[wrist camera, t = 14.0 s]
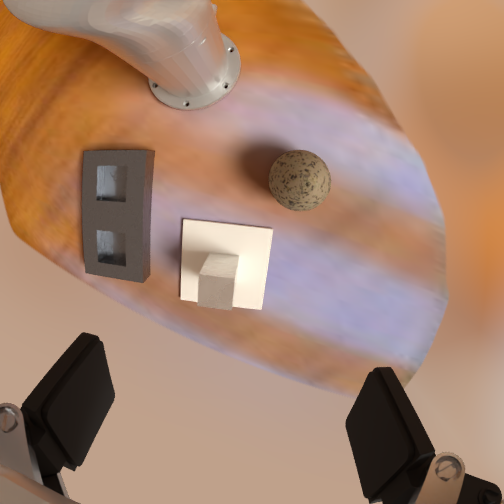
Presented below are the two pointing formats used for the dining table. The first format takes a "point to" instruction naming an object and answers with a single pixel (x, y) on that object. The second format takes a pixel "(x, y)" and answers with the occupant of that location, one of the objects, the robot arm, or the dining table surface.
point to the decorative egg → (299, 180)
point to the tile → (226, 242)
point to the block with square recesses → (117, 213)
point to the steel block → (218, 281)
